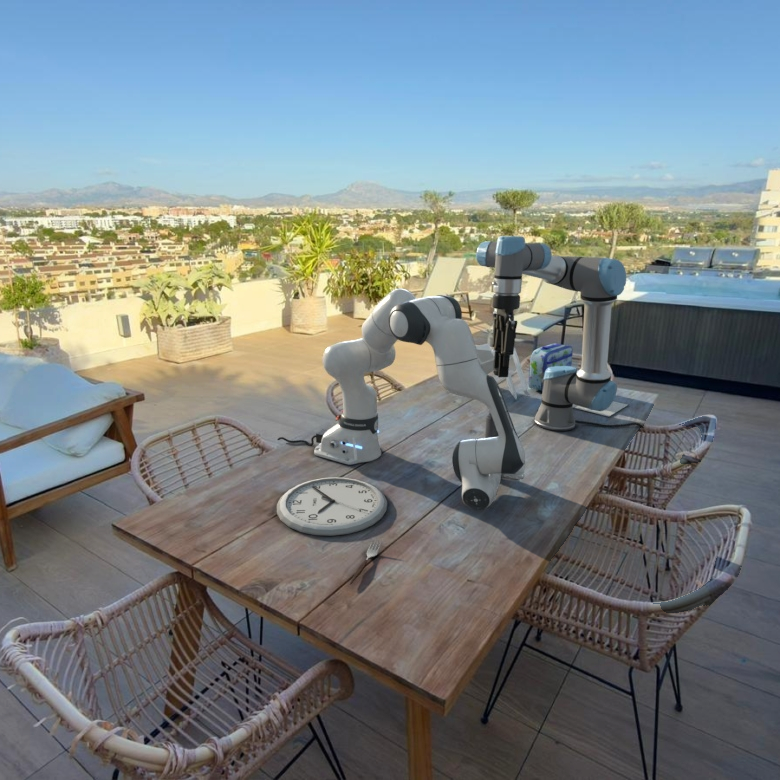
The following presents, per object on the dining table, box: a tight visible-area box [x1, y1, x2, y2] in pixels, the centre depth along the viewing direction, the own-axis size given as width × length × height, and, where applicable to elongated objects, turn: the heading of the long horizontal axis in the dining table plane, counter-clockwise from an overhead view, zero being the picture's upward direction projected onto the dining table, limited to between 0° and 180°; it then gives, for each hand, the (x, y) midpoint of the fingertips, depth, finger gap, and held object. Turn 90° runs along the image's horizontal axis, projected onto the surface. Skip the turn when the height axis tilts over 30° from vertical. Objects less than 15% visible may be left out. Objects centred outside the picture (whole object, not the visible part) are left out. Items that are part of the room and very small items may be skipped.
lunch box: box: [528, 343, 574, 392], centre depth 249 cm, size 26×11×21 cm, turn 134°
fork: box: [349, 538, 383, 585], centre depth 117 cm, size 3×16×2 cm, turn 160°
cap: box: [493, 368, 499, 377], centre depth 152 cm, size 4×4×2 cm
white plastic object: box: [476, 310, 531, 400], centre depth 245 cm, size 37×45×31 cm
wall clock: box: [276, 476, 388, 537], centre depth 142 cm, size 30×2×30 cm
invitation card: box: [573, 400, 629, 418], centre depth 226 cm, size 21×1×15 cm
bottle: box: [484, 410, 499, 438], centre depth 158 cm, size 6×6×25 cm
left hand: (493, 455), depth 161 cm, fingers closed on bottle, 5 cm apart
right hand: (500, 374), depth 153 cm, fingers closed on cap, 4 cm apart
